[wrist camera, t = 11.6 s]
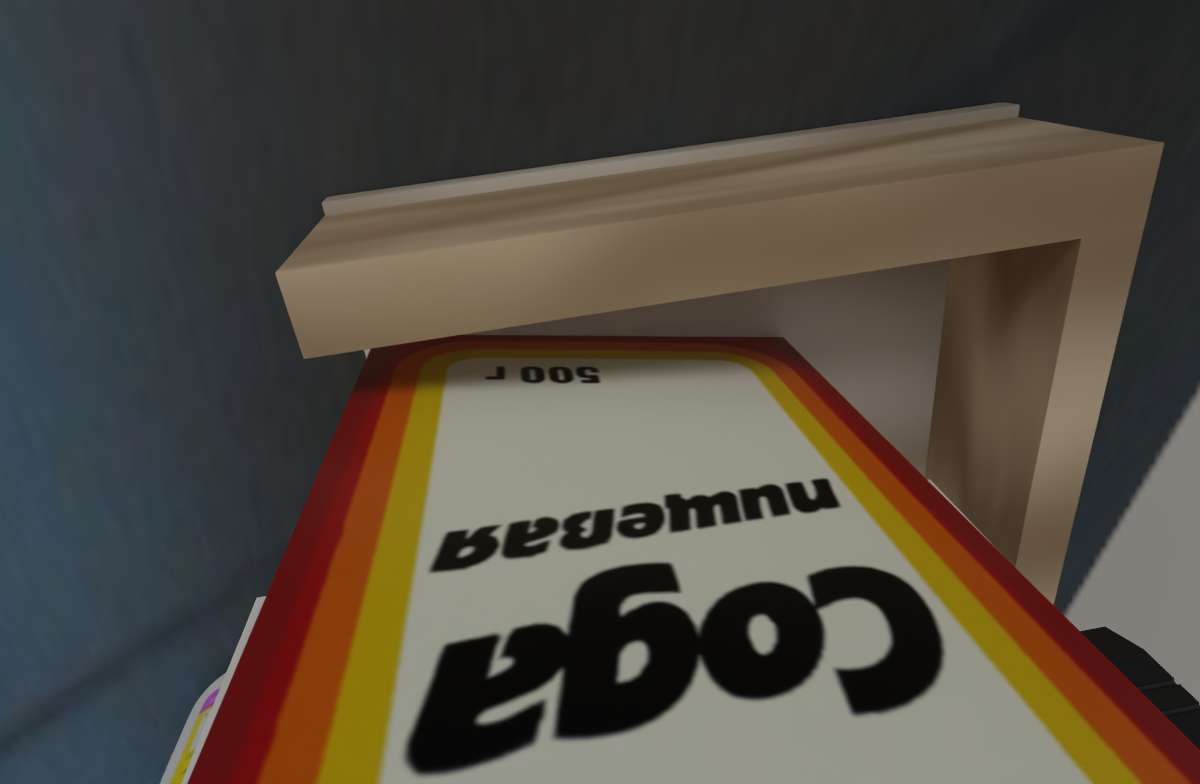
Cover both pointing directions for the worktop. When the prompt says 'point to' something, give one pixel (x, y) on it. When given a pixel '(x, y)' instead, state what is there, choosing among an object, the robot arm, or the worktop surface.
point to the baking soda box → (653, 592)
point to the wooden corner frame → (799, 280)
